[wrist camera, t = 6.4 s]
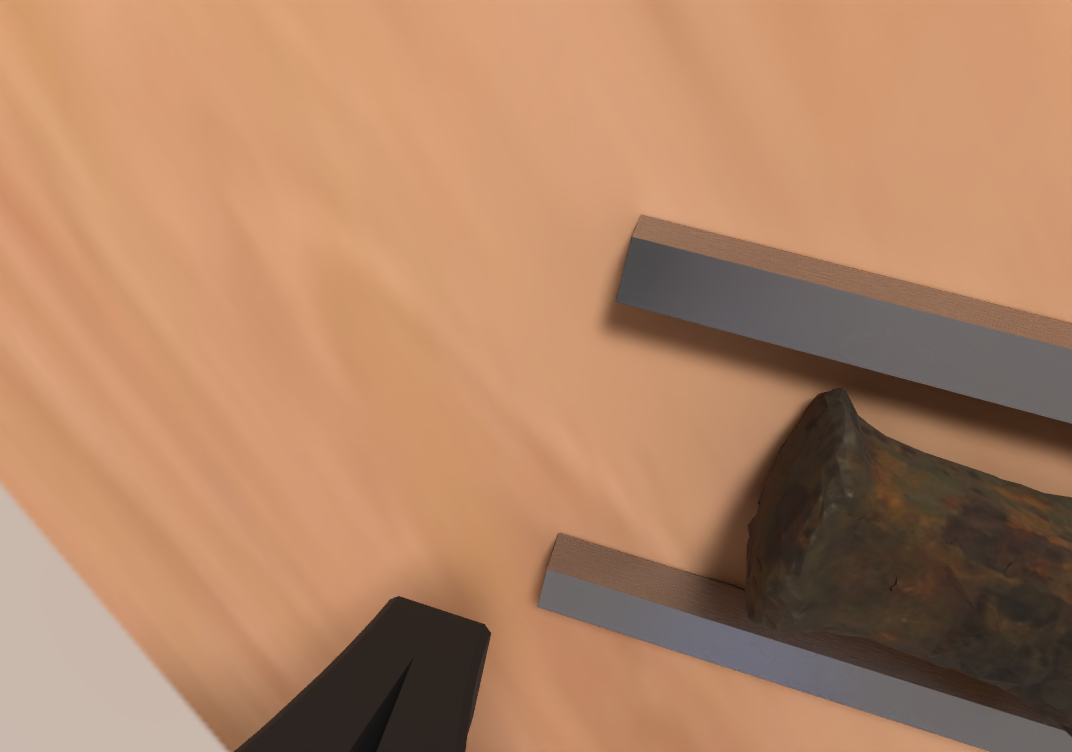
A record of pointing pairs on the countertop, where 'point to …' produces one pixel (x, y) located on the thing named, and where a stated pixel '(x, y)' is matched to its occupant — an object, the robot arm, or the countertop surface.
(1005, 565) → the dark brown log
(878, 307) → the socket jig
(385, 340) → the countertop surface
